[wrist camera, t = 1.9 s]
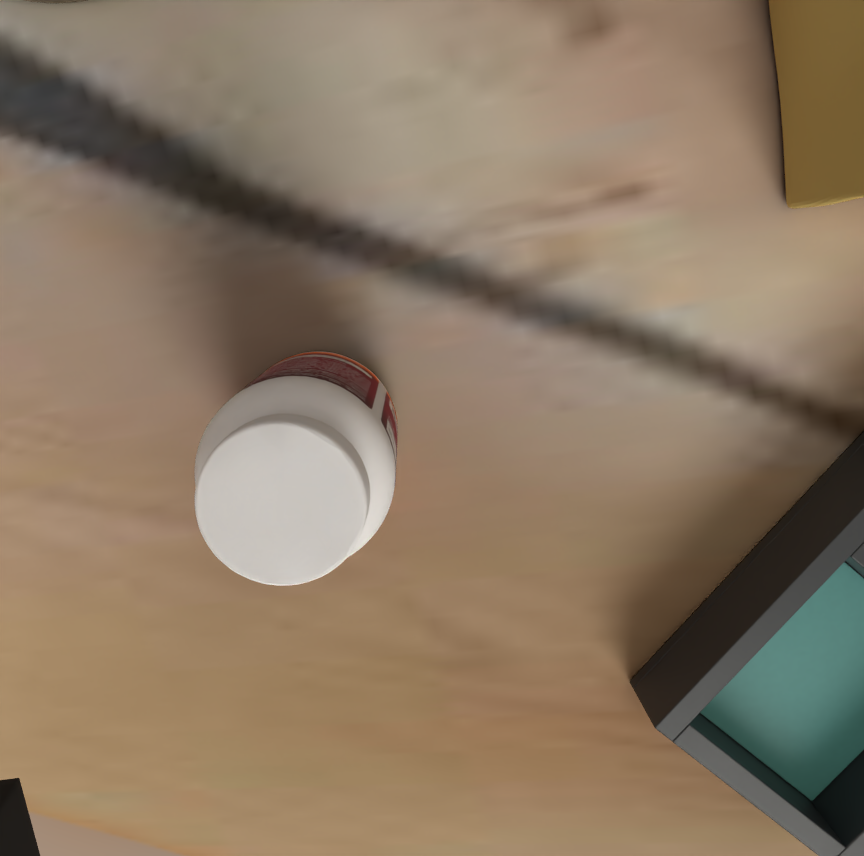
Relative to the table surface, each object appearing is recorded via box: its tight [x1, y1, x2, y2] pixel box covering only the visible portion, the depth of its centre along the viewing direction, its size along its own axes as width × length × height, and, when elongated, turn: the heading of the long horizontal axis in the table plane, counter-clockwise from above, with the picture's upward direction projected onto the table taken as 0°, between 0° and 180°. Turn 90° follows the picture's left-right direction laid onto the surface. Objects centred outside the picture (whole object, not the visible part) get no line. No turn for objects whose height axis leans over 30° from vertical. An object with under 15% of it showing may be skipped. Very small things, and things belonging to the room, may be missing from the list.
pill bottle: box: [195, 351, 398, 586], centre depth 26 cm, size 6×6×11 cm
